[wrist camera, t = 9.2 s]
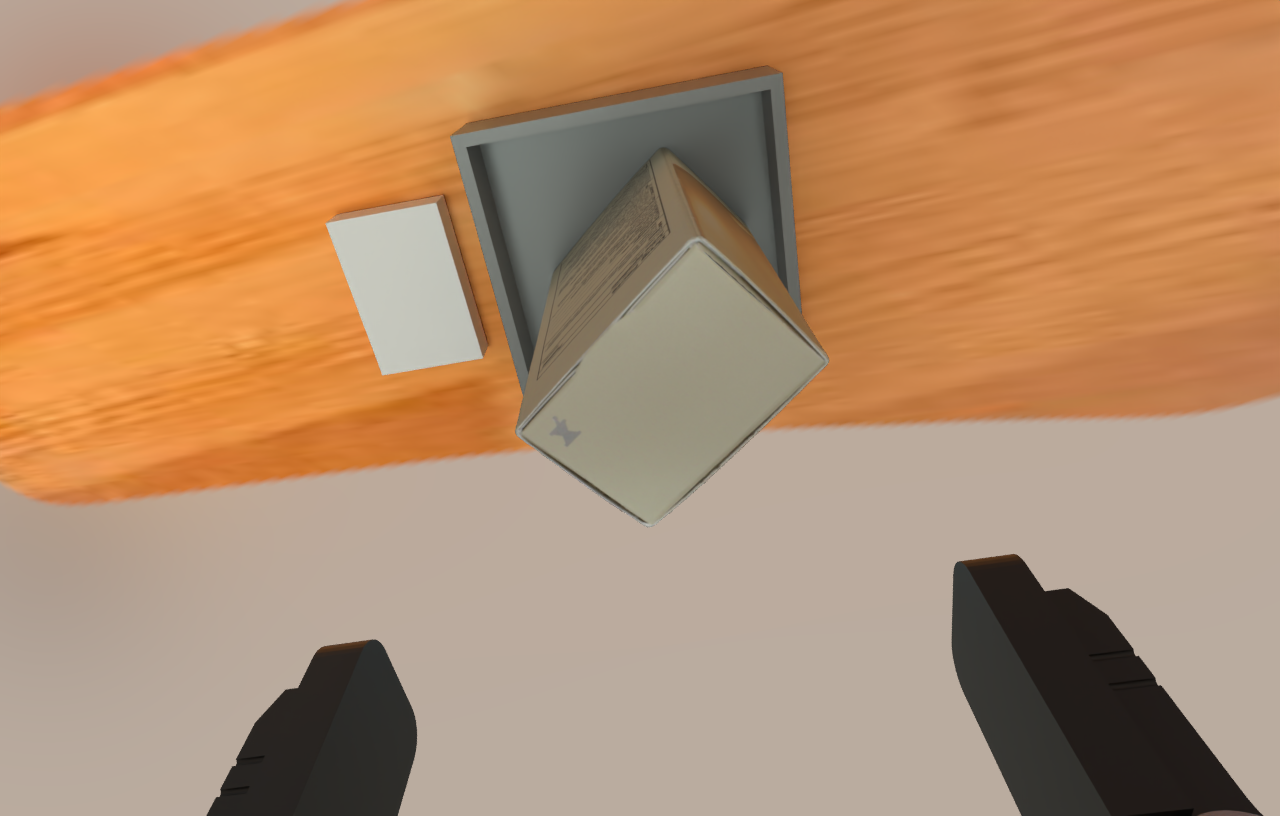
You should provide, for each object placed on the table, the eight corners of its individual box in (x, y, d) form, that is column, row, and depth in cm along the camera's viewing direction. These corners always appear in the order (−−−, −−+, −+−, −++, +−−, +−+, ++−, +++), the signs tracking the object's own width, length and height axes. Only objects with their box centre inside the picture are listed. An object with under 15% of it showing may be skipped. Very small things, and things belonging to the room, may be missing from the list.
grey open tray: (767, 65, 25) (782, 72, 23) (792, 346, 30) (806, 376, 28) (314, 152, 27) (282, 168, 24) (408, 409, 31) (389, 444, 29)
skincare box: (636, 343, 29) (642, 544, 19) (548, 271, 28) (499, 443, 17) (756, 219, 27) (842, 365, 16) (667, 134, 26) (697, 233, 15)
